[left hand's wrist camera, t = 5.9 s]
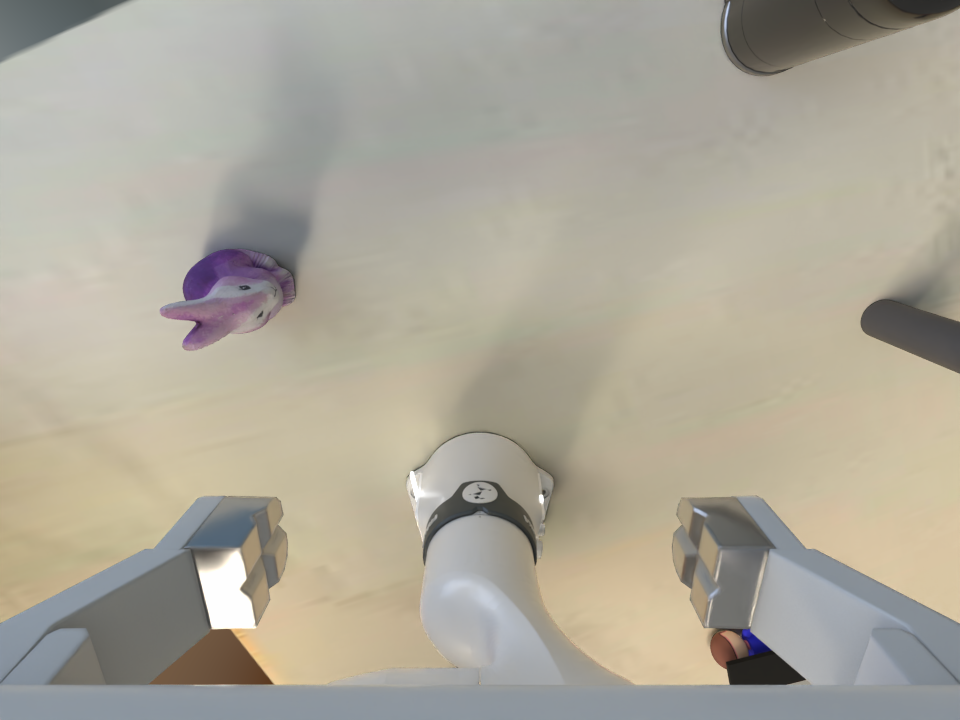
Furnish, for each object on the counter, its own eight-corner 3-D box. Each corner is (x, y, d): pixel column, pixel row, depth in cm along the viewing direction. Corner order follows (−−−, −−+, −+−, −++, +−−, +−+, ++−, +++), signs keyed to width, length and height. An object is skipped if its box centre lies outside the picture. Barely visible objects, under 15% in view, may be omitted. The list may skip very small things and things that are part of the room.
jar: (907, 314, 59) (1048, 361, 44) (876, 343, 60) (1003, 398, 45) (883, 291, 58) (1018, 332, 43) (852, 321, 59) (973, 370, 44)
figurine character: (798, 591, 74) (700, 624, 74) (839, 634, 67) (730, 671, 67) (802, 625, 76) (707, 657, 76) (842, 670, 69) (737, 705, 69)
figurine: (317, 280, 57) (264, 316, 43) (260, 340, 59) (191, 393, 45) (249, 216, 55) (169, 232, 41) (192, 282, 57) (98, 318, 43)
